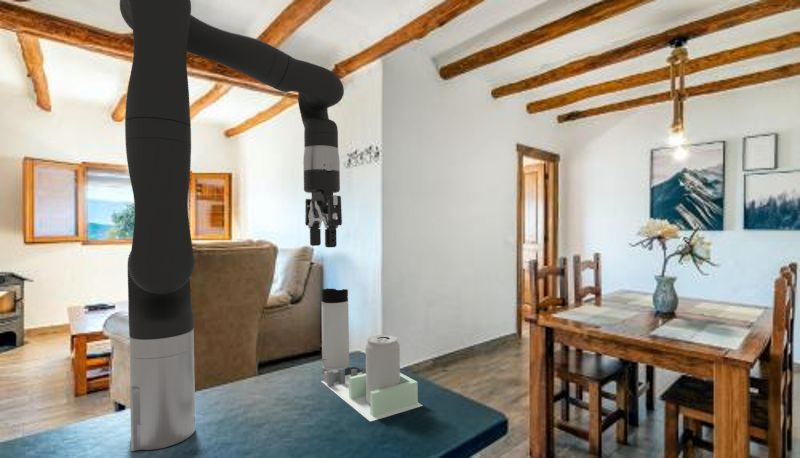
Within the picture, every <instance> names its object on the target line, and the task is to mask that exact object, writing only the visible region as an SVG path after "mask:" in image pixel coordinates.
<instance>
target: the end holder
mask: <svg viewBox="0 0 800 458" xmlns="http://www.w3.org/2000/svg"><path fill="white" fill-rule="evenodd" d="M418 384H419V383H418V381H417V380H414V379H413V378H411V377H409V376H407V375H406V374H403V373H402V372H400V384H398V385H395V386H391V387H387V388H383V389H379V390H375V391H371V392H370V415H372V416H373V417H374V416H377V415H380V414H384V413H387V412H391V411H394V410H397V409H401V408H404V407H407V406H411V405H414V404H417V403H419V401H418V400H419V398H418V397H419V395H418V394H419V393H418V392H419V391H418V389H419V388H418V387H419V386H418ZM364 396H366V373H365V374H361V375H357V376H352V377H349V398H350V399H351V400H352V399H356V398H360V397H364Z"/></svg>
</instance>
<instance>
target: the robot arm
mask: <svg viewBox="0 0 800 458" xmlns="http://www.w3.org/2000/svg"><path fill="white" fill-rule="evenodd" d="M119 11H120V14H121V17H122V18H123V19H122V20H124V22H125V23H126V25H127V26H128V27H129V28H130V29H131V30H132V36H133V39H132V40H133V58H132V64H131V70H130V75H129V81H128V85H127V86H128V87H127V91H126V100H125V114H124V115H125V116H124V129H125V130H124V134H125V135H124V136H125V137H124V139H125V151H126V152H125V153H126V161H127V167H128V168H127V169H128V174H129V181H130V184H131V189H132V193H133V203H134V204H133V205H134V220H133V233H132V244H131V250H130V252H129V255H128V258H127V294H128V295H127V298H128V305H127V306H128V308H127V309H128V310H127V311H128V314H127V315H128V333H129V373H130V374H129V379H130V380H129V385H130V386H129V397H130V447H131V448H130V449H131V452H136V451H141V450H144V451H145V450H146V451H148V450H149V451H150V450H158V449H159V450H160V449H163V448H168V447H170V446H171V447H172V446H174V445H177V444H179V443H181V442H183V441H185V440H187V439H189V437H191V436H192V435H193V434H194V433H195V431H196V391H195V389H196V388H195V387H196V386H195V383H196V382H195V380H196V379H195V378H196V377H195V338H194V337H195V333H194V332H195V331H194V330H195V329H194V312H193V306H192V297H191V295H192V294H191V277H192V275H193V272H194V269H195V263H196V261H195V255H194V249H193V243H192V235H191V227H190V217H189V194H190V193H189V192H190V182H191V181H190V180H191V167H192V166H191V163H192V162H191V160H192V128H191V127H192V124H191V123H192V122H191V110H190V108H191V107H190V90H189V78H188V76H189V75H188V65H187V64H188V58H187V57H188V56H187V55H188V53H191V54H193V55H195V56H198V57H201V58H204V59H207V60H209V61H213V62H214V63H218V64H220V65H223V66H225V67H228V68H230V69H232V70H235V71H238V72H239V73H242V74H244V75H246V76H248V77H251V78H252V79H254V80H256V81H259V82H260V83H262V84H265V85H267V86H269V87H271V88H273V89H275V90H277V91H280V92H283V93H288V92H289V93H291V92H296V93H298V94H297V103H298V108H299V113H300V117H301V121H302V124H303V128H304V132H303V133H304V135H303V136H304V137H303V140H304V142H303V143H304V145H303V146H304V147H303V148H304V150H303V163H302V164H303V191H304V192H305V193H308V194H311V198H306V199H305V200H304V201H305V202H304V203H305V210H304V212H305V215H304V217H305V222H304V223H305V226H307V227H308V229H309V245H310V246H312V247H315V246H321V243H322V242H321V241H322V240H321V239H322V238H321V227H322V223H323V225H324V228H325V229H324V246H325V248H336V247H337V229H338V228H339V226H342V224H343V219H342V218H343V217H342V216H343V215H342V196H341V195H334V194H337V193H340V191H341V182H340V181H341V179H340V177H341V175H340V174H341V173H340V172H341V171H340V167H341V166H340V164H341V163H340V162H341V161H340V154H339V153H340V152H339V130H338V129H339V128H338V126H337V125H338V124H337V123H336V122H335V121H334V120H332V119H330V118H329V111H328V109H329V108H331V107H334V106H335V105H337V104H339V102H340V101H342V99H343V97H344V94H345V93H344V92H345V91H344V85H343V82H342V81H341V79H340V78H339V76H338V75H337V74H336V73H334V72H333V71H331V70H330V69H327V68H325V67H323V66H321V65H317V64H314V63H310V62H308V61H304V60H302V59H301V60H300V59H297V58H294V57H292V56H291V55H289V54H288V53H285V52H284V51H282V50H280V49H279V48H277V47H275V46H274V45H271V44H269V43H267V42H265V41H263V40H260V39H258V38H255V37H251V36H249V35H248V36H247V35H244V34H240V33H235V32H231V31H229V30H226V29H221V28H219V27H215V26H213V25H211V24H208V23H206V22H204V21H202V20H200V19H199V18H196V17H195V16H194V15H192V14H191V13H192V2H191V0H119Z"/></svg>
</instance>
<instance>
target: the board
mask: <svg viewBox="0 0 800 458" xmlns="http://www.w3.org/2000/svg"><path fill="white" fill-rule="evenodd" d="M322 373H323V377H322V378H323V380H321V381H320V382H321V383H322V384H323V385H325V386H326V387H327V388H328V389H330V390H331V391H332V392H333V393H335V394H336V395H337V396H338V397H339V398H341V399H342V400H343V401H344V402H345V403H347V405H349V406H350V407H351V408H352V409H354V410H355V411H357V413H359V414H360V415H362V417H364V418H365V419H366V420H368V421H369V422H374V421H377V420H380V419H383V418H387V417H390V416H394V415H397V414H400V413H404V412H407V411H410V410H413V409H417V408H420V407H423V406H424V405H423V404H421V403H419V402H418V403H417V404H414V405H411V406H407V407H404V408H401V409H397V410H394V411H391V412H387V413H384V414H380V415H377V416H374V417H373V416H372V415H370V403H369V402H368V401H367V399H366V396H364V397H360V398H356V399H352V400H351V399H350V398H349V377H352V376H357V375H361V374H365V373H366V365H365V366H361V371H360V372H358V369H357V368H352V369H350V374H347V375H346V369H344V368H339V370H337V369H334V370H329V371H324V372H323V371H322Z"/></svg>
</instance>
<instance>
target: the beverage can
mask: <svg viewBox="0 0 800 458" xmlns="http://www.w3.org/2000/svg"><path fill="white" fill-rule="evenodd" d="M400 346H401V345H400V344H399V342H398V337H396V336H394V335H389V334H381V335H380V334H377V335H373V336H370V337H368V338H367V343H366V344H365V366H366V399H367V401H368V402H369V403H370V392H371V391H375V390H379V389H383V388H387V387H391V386H395V385H398V384H400V373H401V362H400V361H401V359H400V358H401V352H400V351H401V350H400V349H401V348H400Z"/></svg>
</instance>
